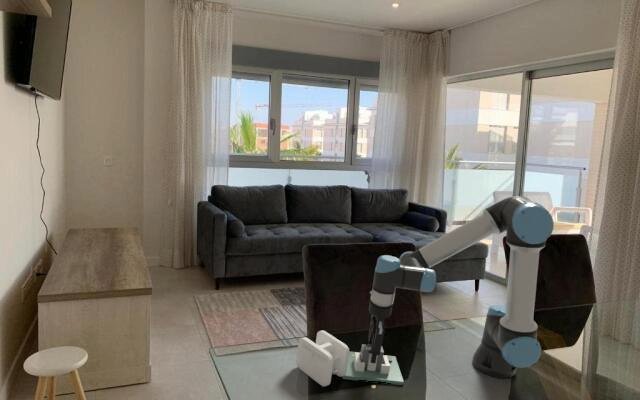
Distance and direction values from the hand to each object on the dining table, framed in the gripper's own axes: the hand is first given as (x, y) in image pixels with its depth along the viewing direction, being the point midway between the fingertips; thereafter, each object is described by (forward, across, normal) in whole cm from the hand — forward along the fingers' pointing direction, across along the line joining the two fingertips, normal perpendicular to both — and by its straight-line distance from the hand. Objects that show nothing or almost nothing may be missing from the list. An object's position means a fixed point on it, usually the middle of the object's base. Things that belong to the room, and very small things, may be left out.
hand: (370, 366), depth 166 cm
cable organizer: (+2, +5, -17) cm, 18 cm away
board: (+2, -1, 0) cm, 2 cm away
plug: (0, 0, 0) cm, 0 cm away
